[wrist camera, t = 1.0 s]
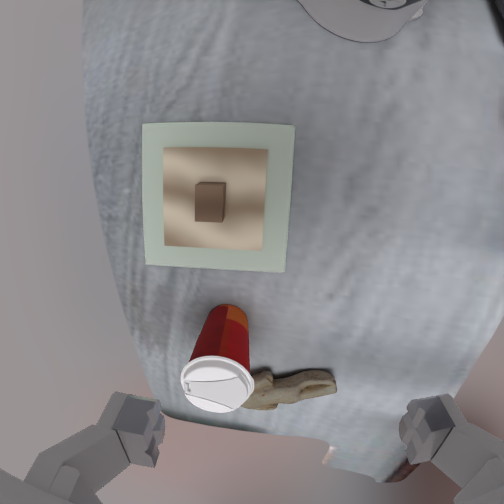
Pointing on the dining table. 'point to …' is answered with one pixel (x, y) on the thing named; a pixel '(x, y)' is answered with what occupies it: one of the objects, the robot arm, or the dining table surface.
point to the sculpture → (288, 388)
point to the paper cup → (220, 362)
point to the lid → (214, 197)
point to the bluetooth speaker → (500, 6)
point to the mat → (228, 136)
